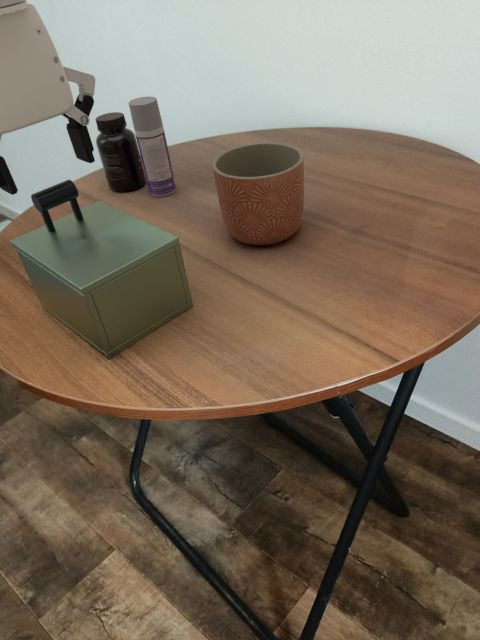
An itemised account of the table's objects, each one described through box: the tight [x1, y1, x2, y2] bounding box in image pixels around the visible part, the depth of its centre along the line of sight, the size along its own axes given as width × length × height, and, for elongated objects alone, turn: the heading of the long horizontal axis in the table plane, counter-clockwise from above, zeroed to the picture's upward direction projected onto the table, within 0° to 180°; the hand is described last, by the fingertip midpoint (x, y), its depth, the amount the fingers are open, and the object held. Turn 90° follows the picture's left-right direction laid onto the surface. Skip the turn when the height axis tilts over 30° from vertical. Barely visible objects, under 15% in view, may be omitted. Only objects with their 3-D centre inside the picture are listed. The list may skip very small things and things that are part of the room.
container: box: [128, 96, 177, 198], centre depth 87 cm, size 5×5×15 cm
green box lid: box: [9, 179, 180, 295], centre depth 59 cm, size 16×13×6 cm
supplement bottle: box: [95, 111, 147, 193], centre depth 91 cm, size 7×7×12 cm
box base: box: [15, 243, 194, 360], centre depth 63 cm, size 16×13×9 cm
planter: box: [211, 141, 305, 246], centre depth 74 cm, size 12×12×11 cm
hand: (49, 175), depth 59 cm, fingers open, 9 cm apart
